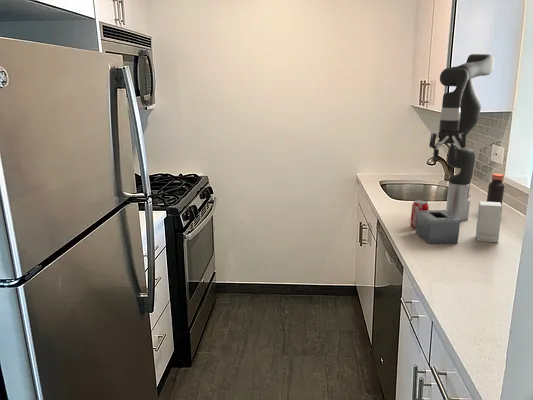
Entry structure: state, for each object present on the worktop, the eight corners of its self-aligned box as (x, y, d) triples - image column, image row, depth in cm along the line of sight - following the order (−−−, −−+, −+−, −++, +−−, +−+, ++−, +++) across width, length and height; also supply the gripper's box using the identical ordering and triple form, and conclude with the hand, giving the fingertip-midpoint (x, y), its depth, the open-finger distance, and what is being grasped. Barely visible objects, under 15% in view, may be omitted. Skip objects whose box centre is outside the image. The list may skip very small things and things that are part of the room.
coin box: (442, 232, 199) (445, 210, 197) (457, 243, 186) (460, 219, 183) (415, 232, 199) (417, 210, 196) (428, 244, 185) (430, 220, 183)
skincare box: (496, 238, 192) (501, 202, 188) (498, 243, 186) (503, 206, 182) (474, 236, 195) (478, 200, 191) (475, 241, 189) (480, 204, 185)
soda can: (427, 230, 202) (430, 204, 199) (411, 229, 203) (413, 203, 200) (425, 225, 208) (428, 200, 205) (409, 224, 210) (411, 199, 207)
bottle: (485, 215, 224) (490, 175, 219) (484, 212, 230) (489, 172, 225) (500, 217, 221) (506, 176, 216) (499, 213, 227) (505, 173, 222)
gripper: (462, 118, 193) (458, 156, 197) (429, 118, 192) (425, 156, 196) (471, 119, 186) (466, 159, 190) (436, 119, 185) (433, 159, 189)
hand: (446, 158), depth 193 cm, fingers open, 8 cm apart
